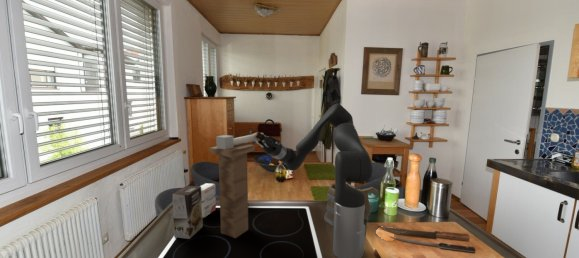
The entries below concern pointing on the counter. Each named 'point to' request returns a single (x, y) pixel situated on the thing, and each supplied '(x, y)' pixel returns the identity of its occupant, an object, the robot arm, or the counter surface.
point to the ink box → (208, 199)
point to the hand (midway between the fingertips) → (253, 133)
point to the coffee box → (187, 211)
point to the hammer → (234, 140)
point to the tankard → (331, 202)
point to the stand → (233, 188)
